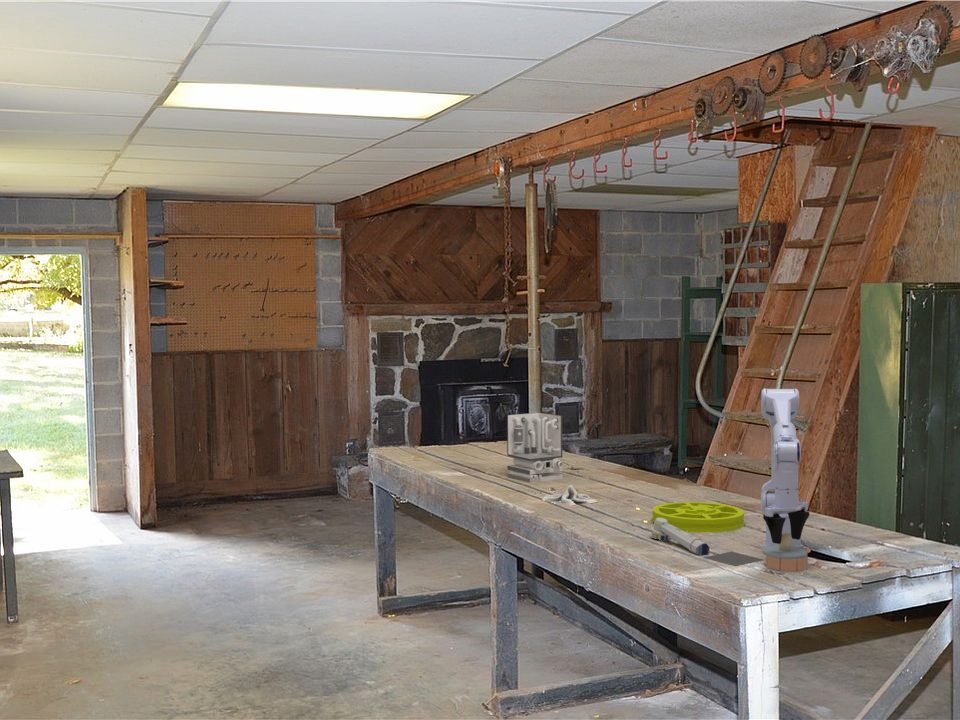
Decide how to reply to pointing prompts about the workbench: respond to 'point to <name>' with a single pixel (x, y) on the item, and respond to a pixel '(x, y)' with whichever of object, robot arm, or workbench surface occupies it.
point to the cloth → (569, 497)
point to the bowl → (786, 563)
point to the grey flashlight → (678, 537)
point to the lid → (785, 549)
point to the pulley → (700, 516)
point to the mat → (733, 558)
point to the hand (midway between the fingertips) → (786, 541)
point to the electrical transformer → (534, 446)
